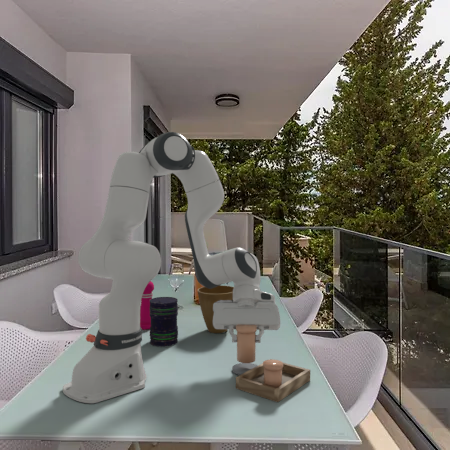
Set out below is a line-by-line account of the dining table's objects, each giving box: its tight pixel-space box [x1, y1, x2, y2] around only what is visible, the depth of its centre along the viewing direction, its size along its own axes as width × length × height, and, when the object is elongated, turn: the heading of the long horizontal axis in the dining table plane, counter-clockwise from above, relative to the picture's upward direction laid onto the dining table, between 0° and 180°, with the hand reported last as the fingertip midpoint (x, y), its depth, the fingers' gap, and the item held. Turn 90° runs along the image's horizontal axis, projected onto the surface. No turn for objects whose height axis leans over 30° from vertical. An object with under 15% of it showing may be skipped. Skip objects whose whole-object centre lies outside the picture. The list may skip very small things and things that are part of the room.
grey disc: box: [231, 362, 258, 376], centre depth 130 cm, size 8×8×1 cm
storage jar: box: [149, 296, 179, 348], centre depth 155 cm, size 10×10×15 cm
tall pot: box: [235, 324, 258, 364], centre depth 130 cm, size 6×6×10 cm
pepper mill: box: [140, 280, 155, 331], centre depth 173 cm, size 7×7×20 cm
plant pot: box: [196, 284, 234, 334], centre depth 169 cm, size 15×15×16 cm
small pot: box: [262, 358, 284, 388], centre depth 115 cm, size 5×5×7 cm
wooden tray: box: [235, 358, 311, 403], centre depth 121 cm, size 17×13×3 cm
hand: (246, 341), depth 129 cm, fingers closed on tall pot, 5 cm apart
